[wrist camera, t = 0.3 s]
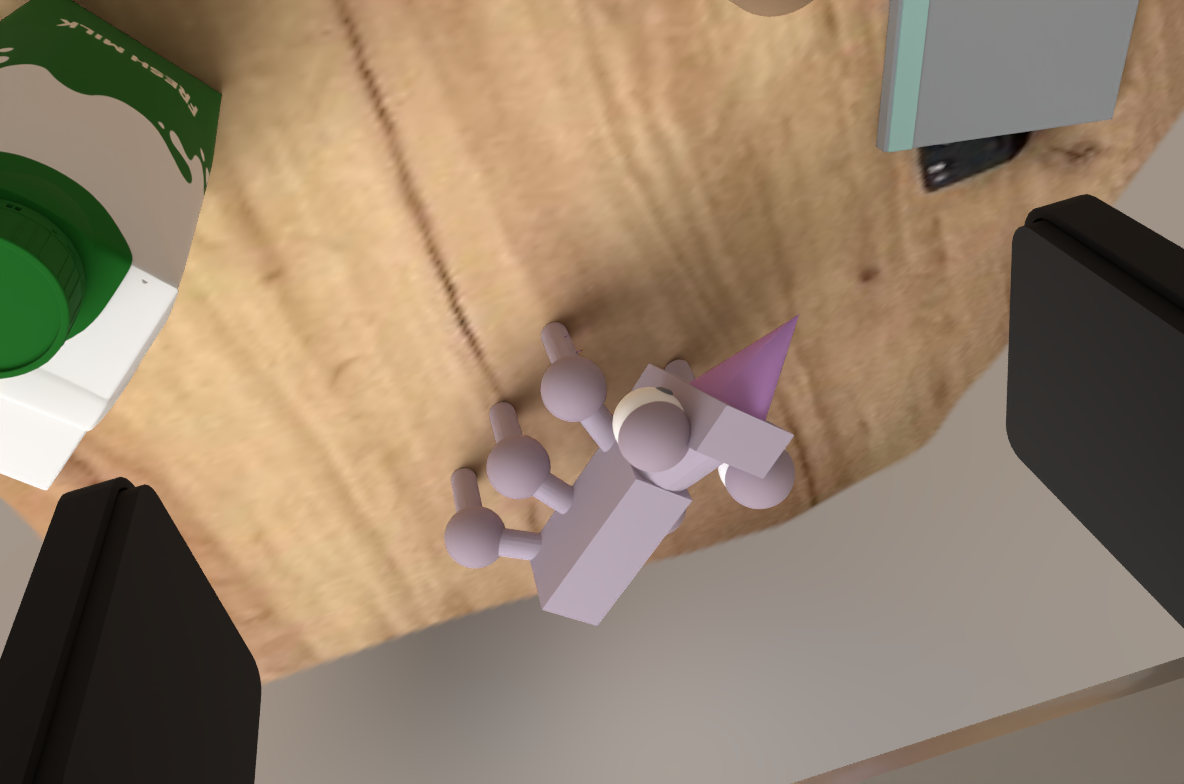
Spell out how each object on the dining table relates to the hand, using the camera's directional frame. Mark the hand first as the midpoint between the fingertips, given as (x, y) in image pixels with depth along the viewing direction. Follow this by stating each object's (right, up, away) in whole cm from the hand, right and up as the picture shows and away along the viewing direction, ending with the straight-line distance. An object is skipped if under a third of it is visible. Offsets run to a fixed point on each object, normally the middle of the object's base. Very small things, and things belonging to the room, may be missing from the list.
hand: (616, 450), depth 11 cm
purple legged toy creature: (0, +2, +42) cm, 42 cm away
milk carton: (-20, +12, +30) cm, 38 cm away
